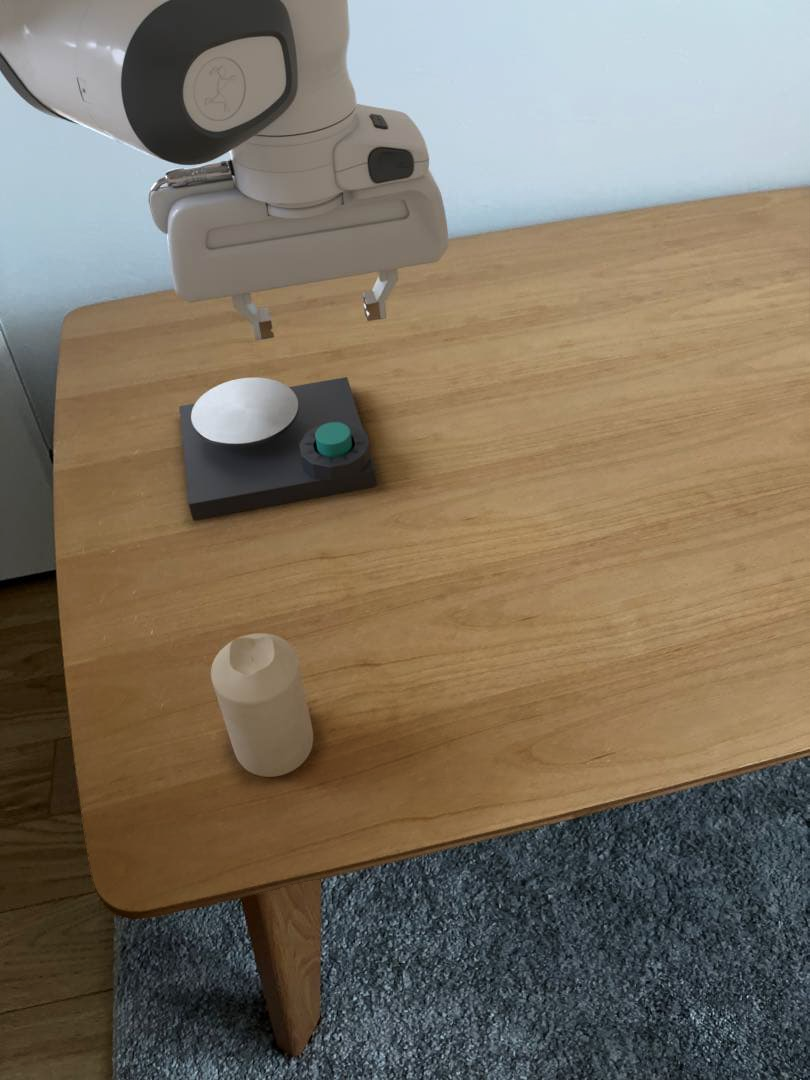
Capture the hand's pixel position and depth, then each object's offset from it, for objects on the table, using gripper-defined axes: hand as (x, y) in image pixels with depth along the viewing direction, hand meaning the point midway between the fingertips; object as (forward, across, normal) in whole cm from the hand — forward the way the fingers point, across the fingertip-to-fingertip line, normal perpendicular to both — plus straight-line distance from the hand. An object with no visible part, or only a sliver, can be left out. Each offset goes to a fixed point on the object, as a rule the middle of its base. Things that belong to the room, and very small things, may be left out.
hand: (320, 325), depth 78 cm
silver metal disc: (+12, -7, +7) cm, 15 cm away
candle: (+15, -9, -26) cm, 32 cm away
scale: (+15, -5, +5) cm, 17 cm away
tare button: (+12, 0, 0) cm, 12 cm away
